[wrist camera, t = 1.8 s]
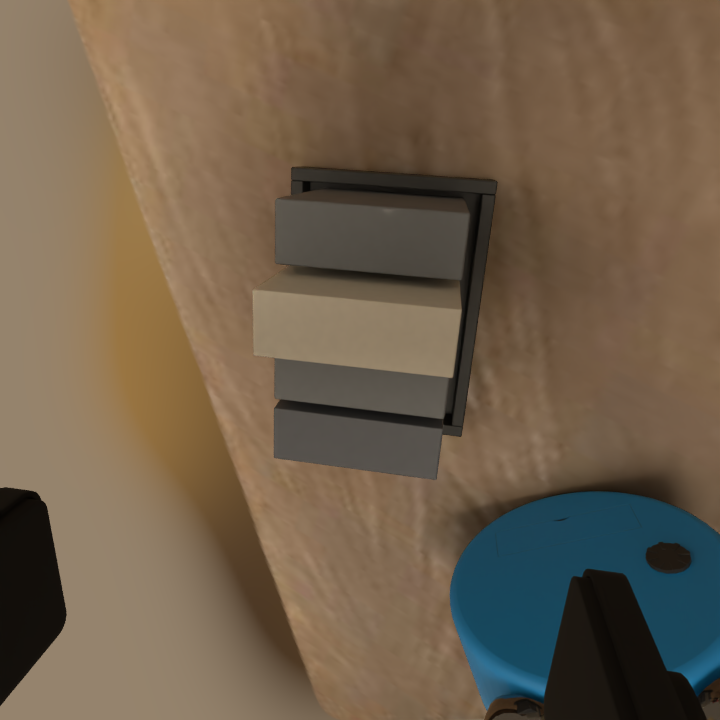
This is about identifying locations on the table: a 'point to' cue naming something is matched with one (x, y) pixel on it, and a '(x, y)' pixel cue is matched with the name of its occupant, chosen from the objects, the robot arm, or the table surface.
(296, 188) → the grey tray
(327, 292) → the white box
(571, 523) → the alarm clock
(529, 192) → the table surface
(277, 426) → the grey books
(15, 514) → the robot arm
